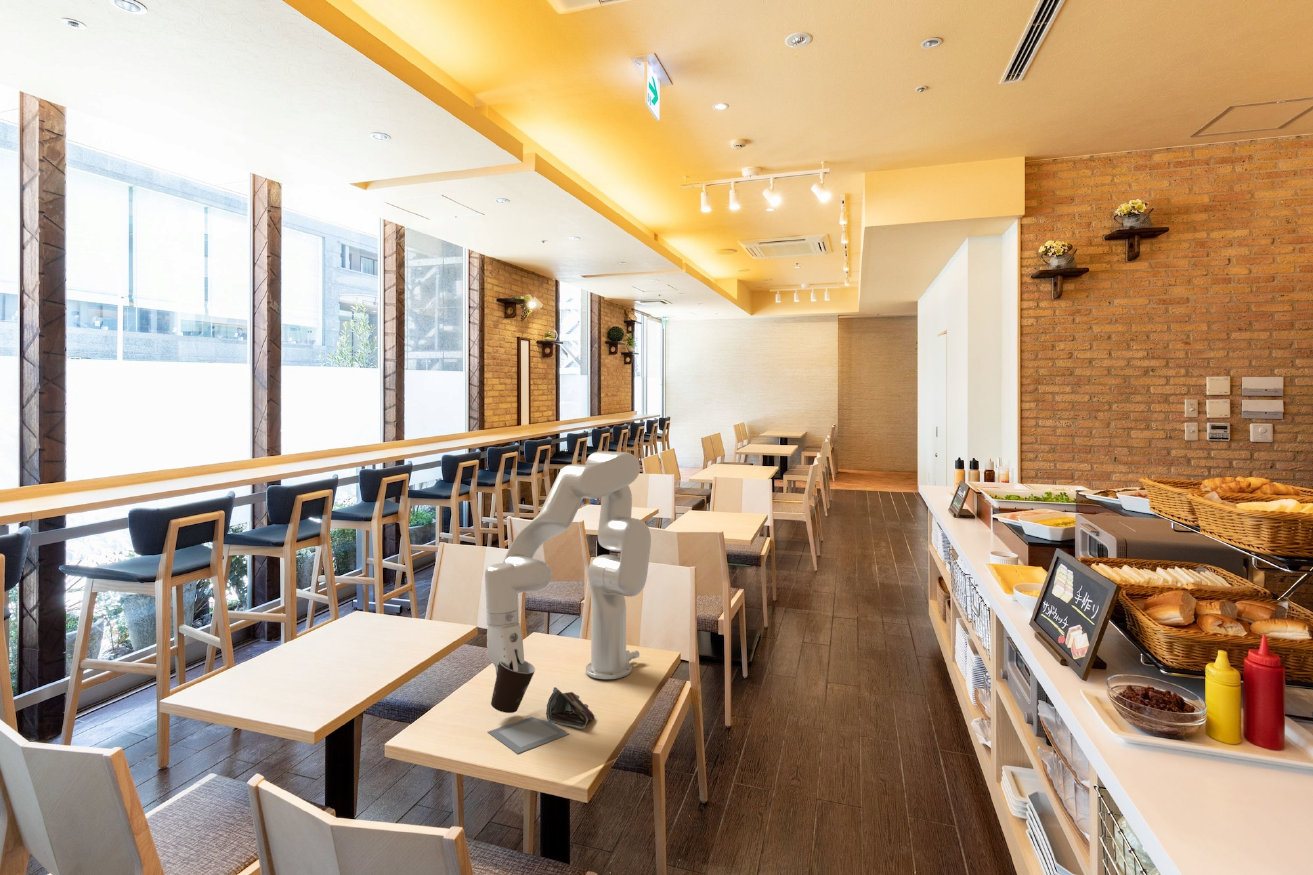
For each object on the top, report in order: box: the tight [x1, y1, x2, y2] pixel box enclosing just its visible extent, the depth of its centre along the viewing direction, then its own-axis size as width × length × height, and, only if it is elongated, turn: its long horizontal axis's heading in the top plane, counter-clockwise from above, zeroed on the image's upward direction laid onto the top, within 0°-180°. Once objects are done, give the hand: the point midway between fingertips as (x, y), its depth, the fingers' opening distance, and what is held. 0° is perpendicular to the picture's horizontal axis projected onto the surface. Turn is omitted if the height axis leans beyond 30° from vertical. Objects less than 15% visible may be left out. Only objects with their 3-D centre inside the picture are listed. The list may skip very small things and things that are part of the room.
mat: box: [487, 716, 570, 755], centre depth 142 cm, size 13×13×1 cm
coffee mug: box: [490, 659, 536, 714], centre depth 151 cm, size 12×9×10 cm
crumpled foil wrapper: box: [545, 687, 595, 730], centre depth 149 cm, size 10×7×12 cm
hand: (505, 692), depth 152 cm, fingers closed
